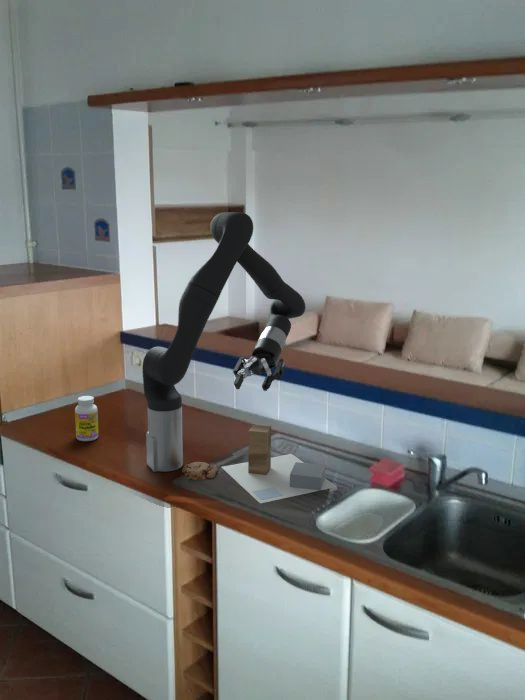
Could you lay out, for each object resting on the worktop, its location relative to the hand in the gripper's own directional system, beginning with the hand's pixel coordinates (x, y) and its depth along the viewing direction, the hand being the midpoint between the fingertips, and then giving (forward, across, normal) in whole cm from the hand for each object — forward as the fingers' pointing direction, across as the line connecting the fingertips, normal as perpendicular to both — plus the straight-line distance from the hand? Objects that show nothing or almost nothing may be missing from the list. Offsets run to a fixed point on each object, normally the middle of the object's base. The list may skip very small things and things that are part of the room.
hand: (250, 388), depth 184 cm
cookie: (+23, -10, +10) cm, 27 cm away
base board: (+18, +10, +16) cm, 26 cm away
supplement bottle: (+15, -54, +10) cm, 58 cm away
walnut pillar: (+16, +4, +15) cm, 22 cm away
